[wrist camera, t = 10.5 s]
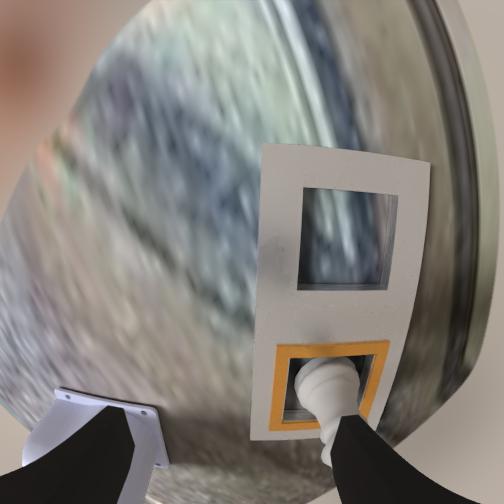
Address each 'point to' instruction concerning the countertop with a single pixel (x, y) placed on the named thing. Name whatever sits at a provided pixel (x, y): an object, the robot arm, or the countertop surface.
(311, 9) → the countertop surface
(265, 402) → the rail plate
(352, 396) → the rook chess piece
